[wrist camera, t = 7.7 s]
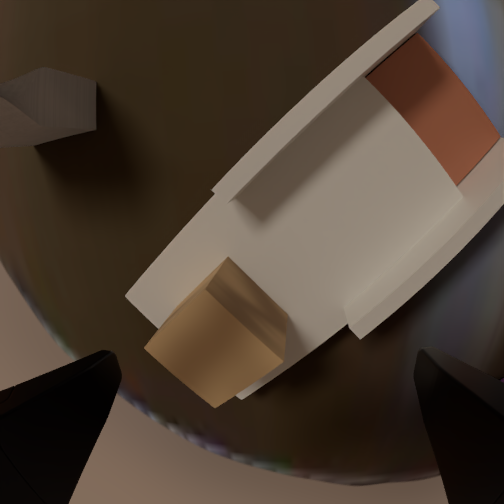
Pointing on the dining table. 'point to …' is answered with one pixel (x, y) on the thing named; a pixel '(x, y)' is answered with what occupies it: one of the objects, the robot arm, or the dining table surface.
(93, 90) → the grey box
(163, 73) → the dining table surface
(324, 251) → the trap channel
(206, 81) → the dining table surface
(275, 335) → the oak block
